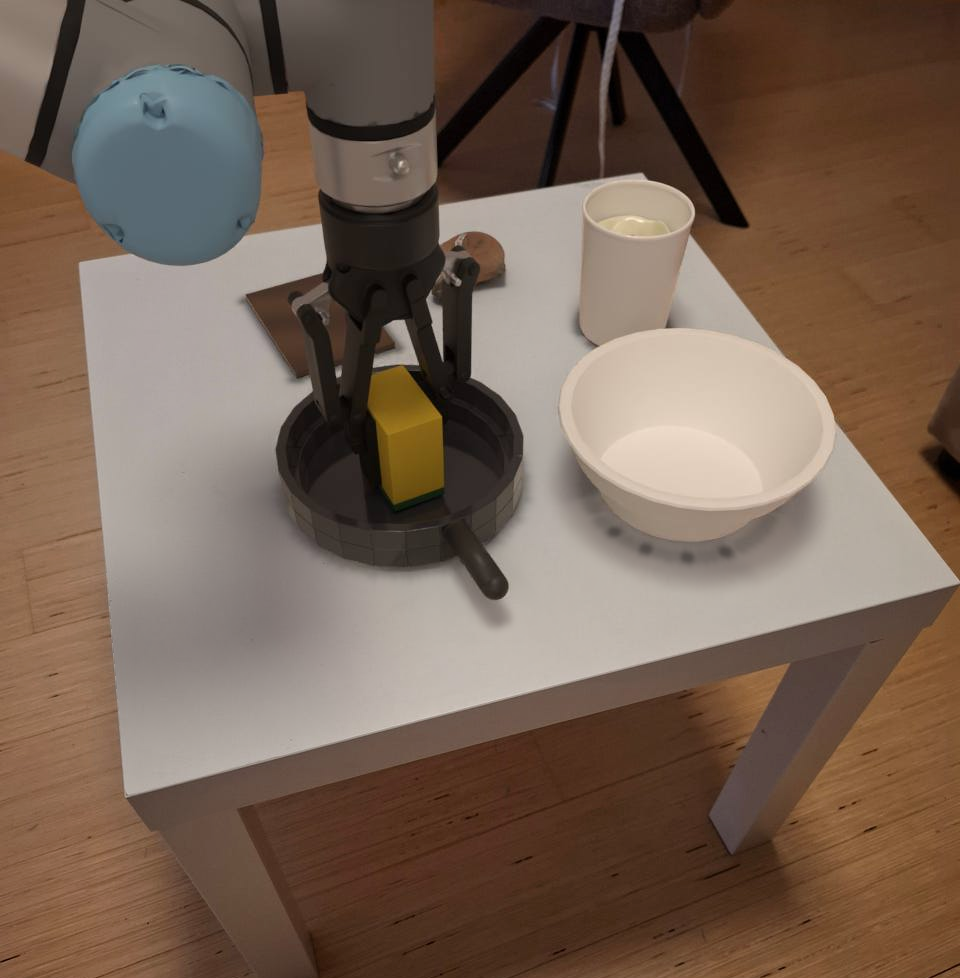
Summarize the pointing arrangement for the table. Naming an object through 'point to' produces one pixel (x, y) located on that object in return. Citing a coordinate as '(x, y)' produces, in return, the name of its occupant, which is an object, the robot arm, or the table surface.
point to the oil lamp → (477, 256)
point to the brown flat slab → (288, 328)
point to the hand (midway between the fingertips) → (400, 465)
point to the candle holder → (631, 256)
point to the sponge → (406, 439)
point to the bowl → (694, 430)
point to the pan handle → (476, 560)
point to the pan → (364, 509)
